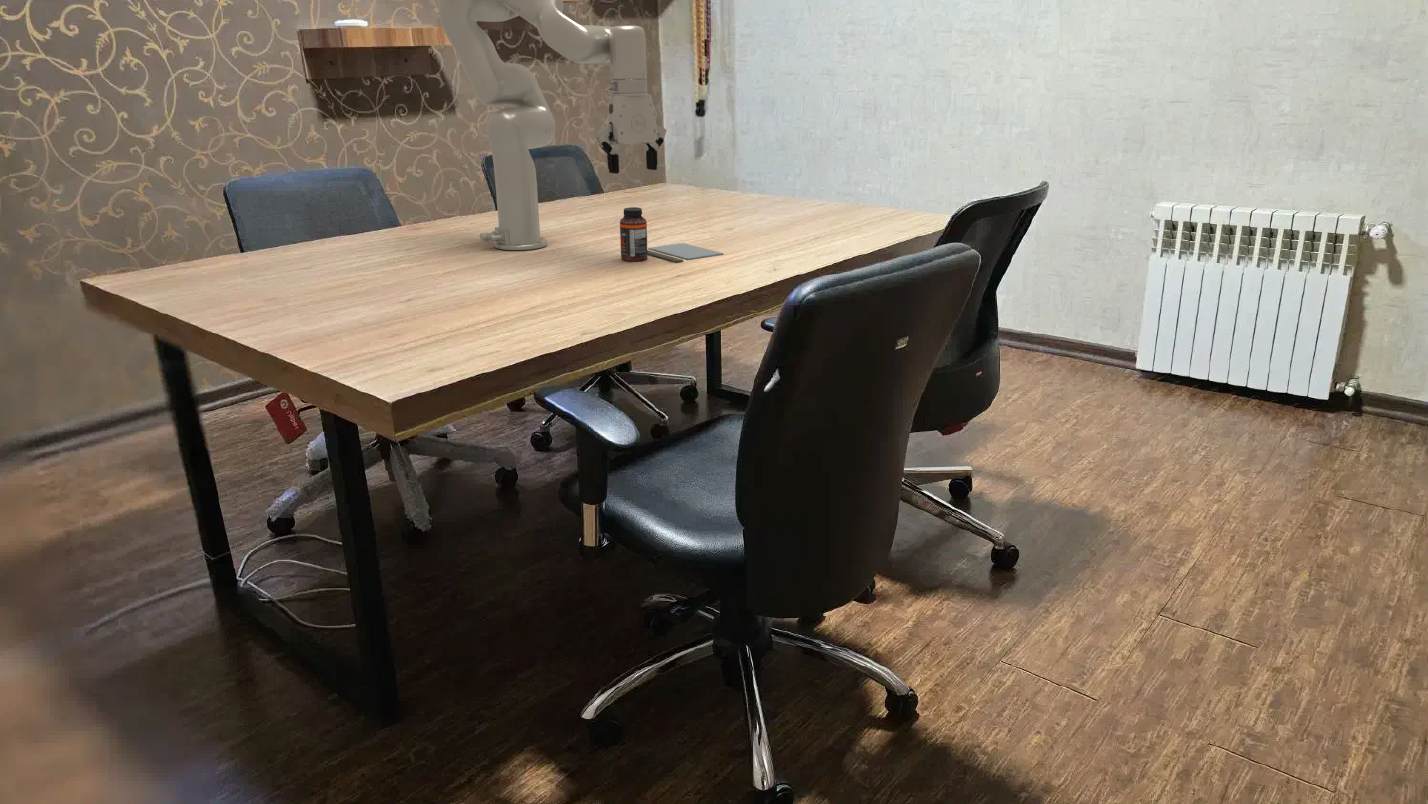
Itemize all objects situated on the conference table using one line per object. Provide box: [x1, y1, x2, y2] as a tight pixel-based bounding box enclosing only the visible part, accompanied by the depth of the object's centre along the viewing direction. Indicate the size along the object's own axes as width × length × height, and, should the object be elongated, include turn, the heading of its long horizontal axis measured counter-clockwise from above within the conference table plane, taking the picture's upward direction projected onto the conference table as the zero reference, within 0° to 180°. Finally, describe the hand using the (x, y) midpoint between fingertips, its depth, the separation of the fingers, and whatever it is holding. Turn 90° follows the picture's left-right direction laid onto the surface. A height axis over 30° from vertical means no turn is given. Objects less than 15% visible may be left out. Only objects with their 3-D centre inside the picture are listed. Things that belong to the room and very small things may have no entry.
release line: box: [647, 249, 684, 264], centre depth 220 cm, size 2×18×1 cm, turn 37°
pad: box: [647, 242, 724, 261], centre depth 224 cm, size 10×16×1 cm, turn 37°
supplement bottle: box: [619, 206, 648, 263], centre depth 214 cm, size 6×6×11 cm
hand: (633, 171), depth 209 cm, fingers open, 9 cm apart
